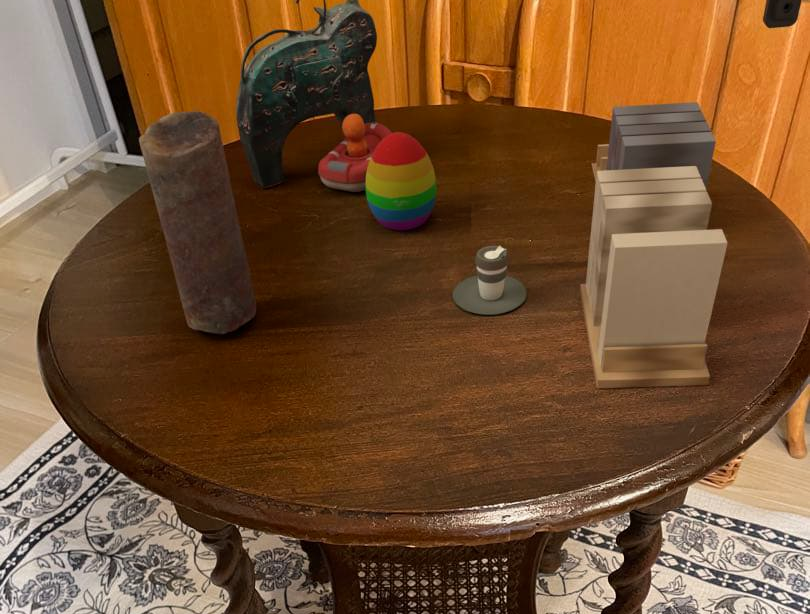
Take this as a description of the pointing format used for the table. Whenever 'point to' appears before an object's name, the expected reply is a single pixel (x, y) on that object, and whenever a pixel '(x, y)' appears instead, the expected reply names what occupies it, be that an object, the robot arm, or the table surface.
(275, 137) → the ceramic cat
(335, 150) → the toy boat
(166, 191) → the brown textured cylinder
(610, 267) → the cream book
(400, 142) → the decorative egg
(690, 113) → the grey rack
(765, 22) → the robot arm
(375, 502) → the table surface
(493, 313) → the coffee cup
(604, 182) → the cream rack
